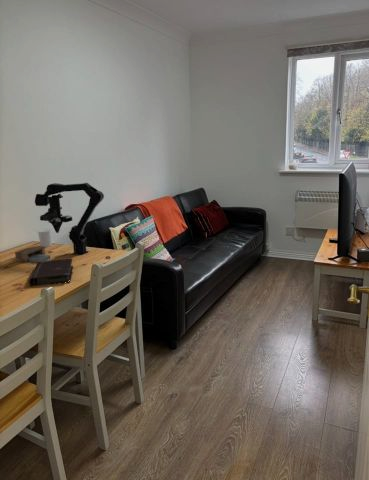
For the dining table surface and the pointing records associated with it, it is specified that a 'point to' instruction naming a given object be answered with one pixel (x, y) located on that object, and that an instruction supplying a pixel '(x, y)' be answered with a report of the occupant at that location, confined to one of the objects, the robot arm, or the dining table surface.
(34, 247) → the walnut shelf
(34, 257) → the slate tile
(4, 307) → the dining table surface
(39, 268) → the diary
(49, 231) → the white cup
